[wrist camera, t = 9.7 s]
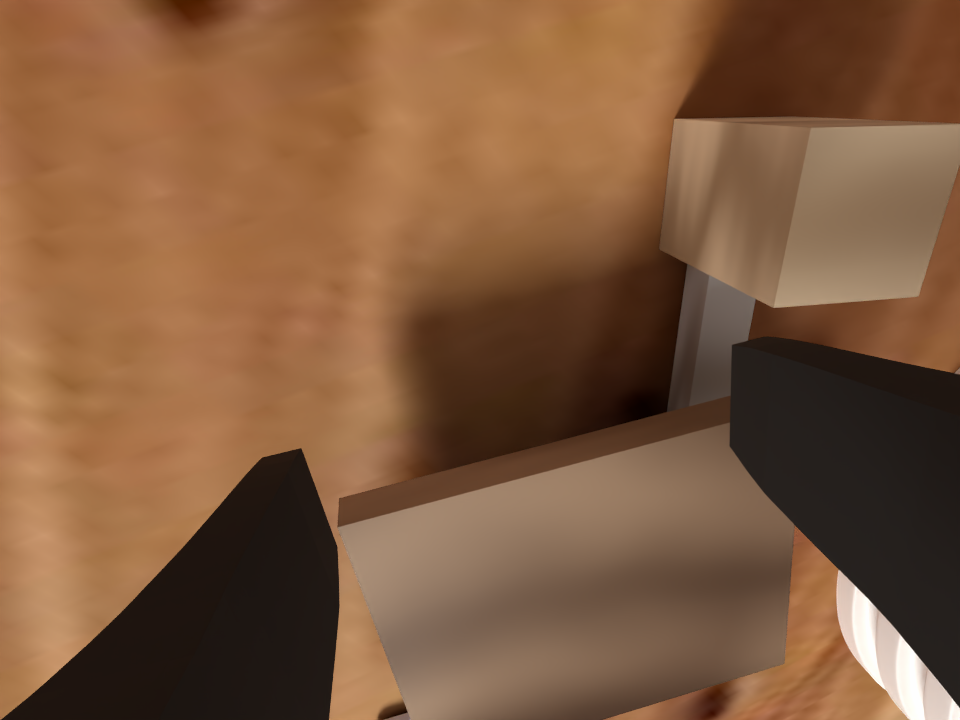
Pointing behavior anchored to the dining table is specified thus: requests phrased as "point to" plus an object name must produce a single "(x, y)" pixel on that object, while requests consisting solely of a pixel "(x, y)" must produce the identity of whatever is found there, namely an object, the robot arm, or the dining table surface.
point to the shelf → (576, 573)
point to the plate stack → (890, 657)
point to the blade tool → (794, 223)
